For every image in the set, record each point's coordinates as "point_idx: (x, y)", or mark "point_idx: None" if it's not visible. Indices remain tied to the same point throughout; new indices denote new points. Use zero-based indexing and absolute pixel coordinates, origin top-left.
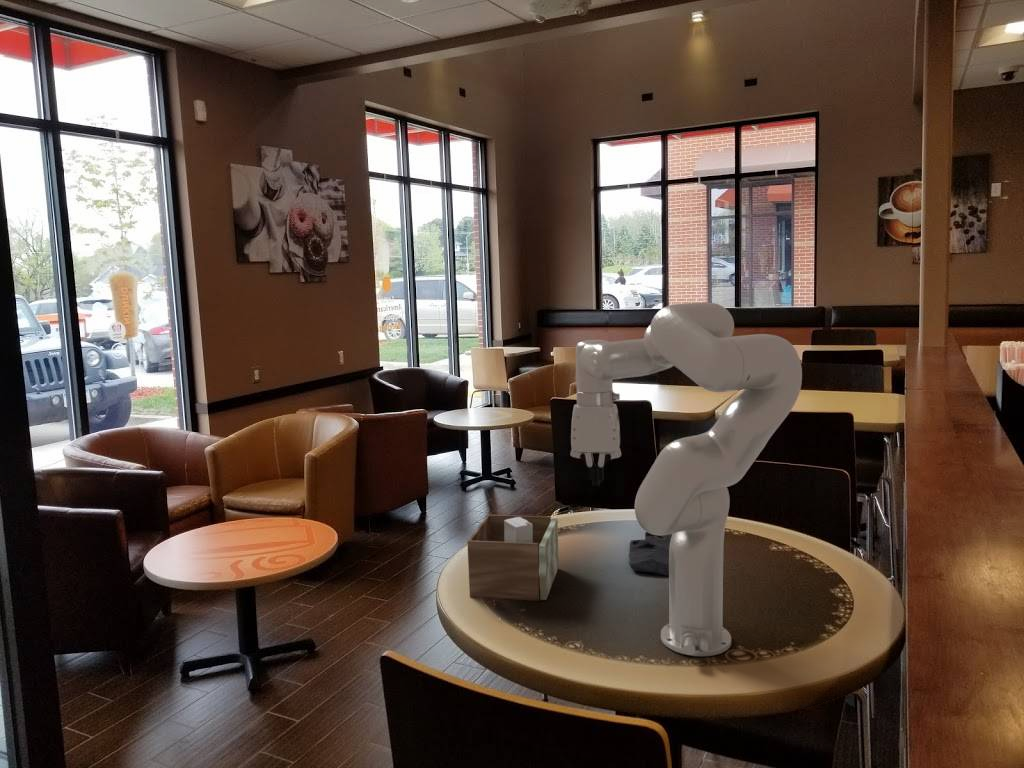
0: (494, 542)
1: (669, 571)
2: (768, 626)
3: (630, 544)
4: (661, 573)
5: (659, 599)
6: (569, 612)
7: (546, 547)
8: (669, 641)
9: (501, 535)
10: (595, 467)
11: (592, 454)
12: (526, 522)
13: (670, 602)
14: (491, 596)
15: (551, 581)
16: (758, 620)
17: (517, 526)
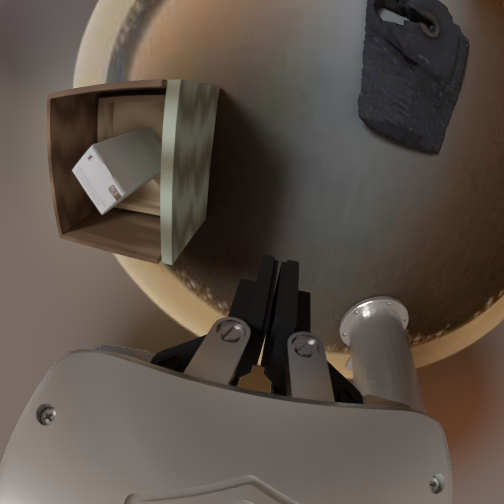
0: (91, 246)
1: (356, 387)
2: (452, 300)
3: (368, 5)
4: (406, 144)
5: (376, 226)
6: (240, 252)
7: (175, 242)
8: (343, 337)
9: (93, 92)
10: (261, 345)
11: (232, 377)
12: (111, 187)
13: (352, 359)
14: None
15: (207, 169)
16: (452, 288)
17: (101, 211)
